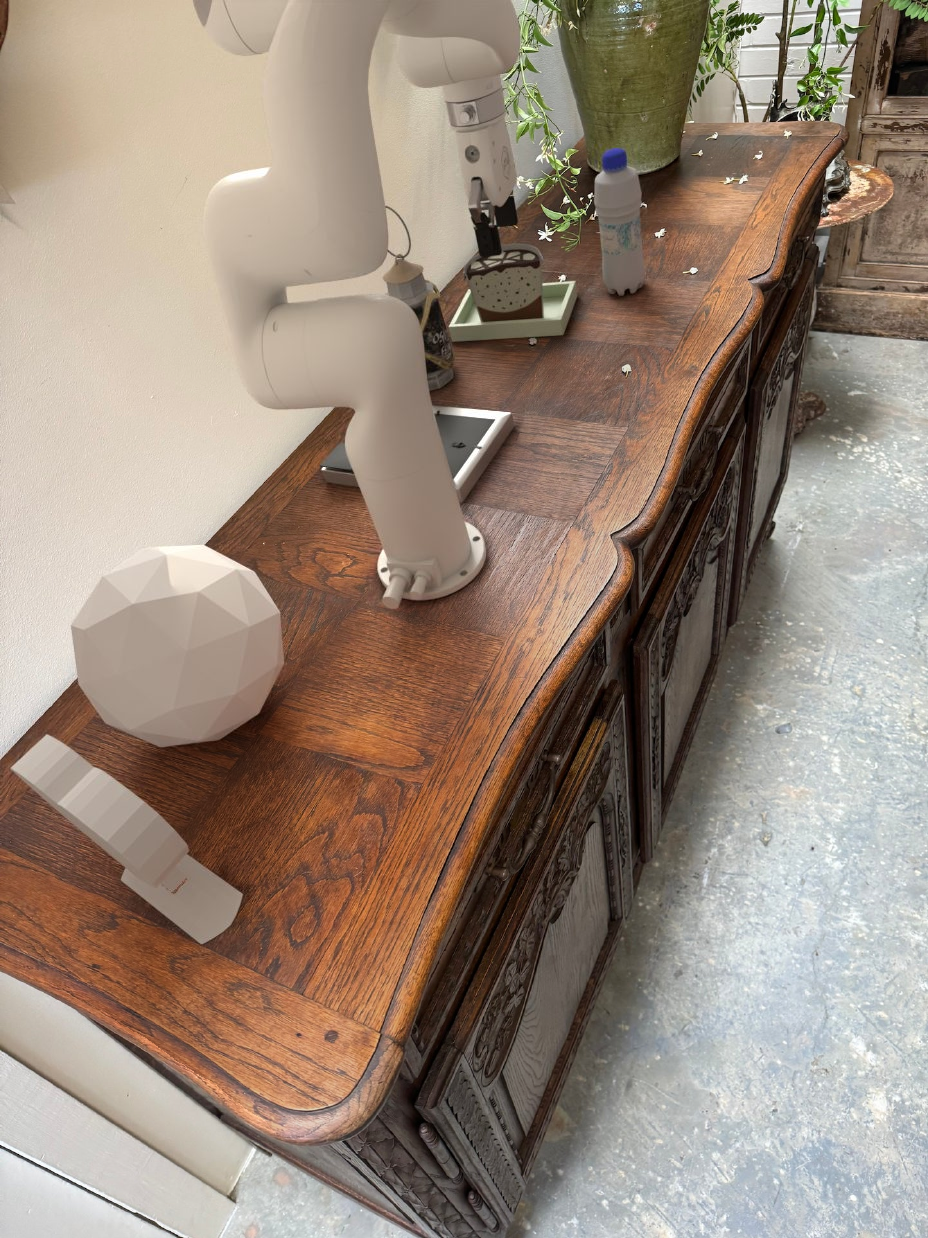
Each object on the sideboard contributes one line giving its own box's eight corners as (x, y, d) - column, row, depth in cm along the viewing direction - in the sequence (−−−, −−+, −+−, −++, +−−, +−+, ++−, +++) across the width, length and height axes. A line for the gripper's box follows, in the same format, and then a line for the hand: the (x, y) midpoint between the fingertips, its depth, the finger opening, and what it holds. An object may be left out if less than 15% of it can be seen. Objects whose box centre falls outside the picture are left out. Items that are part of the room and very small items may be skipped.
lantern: (471, 371, 122) (429, 195, 104) (433, 400, 119) (383, 223, 101) (430, 358, 127) (383, 188, 109) (392, 386, 124) (338, 215, 106)
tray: (563, 335, 123) (561, 319, 122) (451, 341, 129) (448, 326, 128) (577, 295, 131) (575, 280, 129) (471, 303, 137) (468, 289, 135)
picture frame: (326, 482, 111) (462, 502, 102) (319, 465, 109) (457, 484, 100) (384, 413, 120) (514, 426, 110) (378, 396, 118) (511, 407, 108)
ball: (294, 725, 93) (347, 638, 77) (117, 810, 81) (139, 728, 65) (210, 589, 97) (245, 481, 82) (31, 651, 85) (32, 538, 70)
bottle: (594, 289, 131) (580, 153, 116) (631, 273, 132) (621, 135, 117) (618, 304, 126) (605, 163, 112) (655, 287, 127) (648, 146, 113)
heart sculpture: (258, 905, 71) (157, 794, 58) (216, 957, 68) (102, 853, 56) (148, 826, 79) (38, 714, 66) (107, 870, 77) (-14, 762, 64)
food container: (554, 299, 130) (545, 235, 123) (553, 319, 126) (544, 254, 119) (477, 312, 133) (464, 250, 126) (474, 331, 129) (460, 268, 122)
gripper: (486, 127, 102) (510, 265, 114) (518, 82, 113) (537, 212, 125) (429, 136, 105) (458, 269, 117) (466, 91, 116) (489, 217, 127)
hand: (499, 239), depth 121 cm, fingers open, 9 cm apart
